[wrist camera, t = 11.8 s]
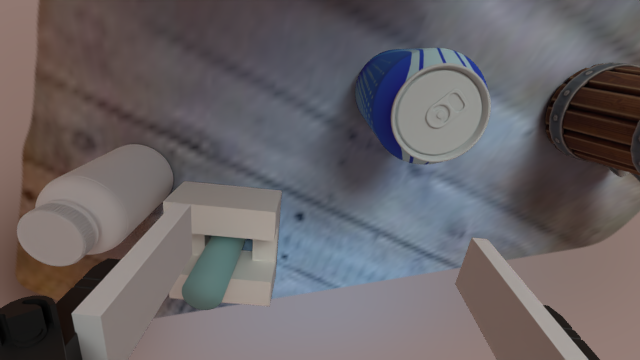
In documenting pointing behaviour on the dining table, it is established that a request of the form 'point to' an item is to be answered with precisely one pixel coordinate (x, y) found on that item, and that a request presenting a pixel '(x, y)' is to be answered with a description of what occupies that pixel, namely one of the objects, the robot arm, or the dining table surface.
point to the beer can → (424, 103)
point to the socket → (234, 235)
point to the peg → (212, 272)
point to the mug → (599, 117)
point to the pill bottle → (95, 205)
